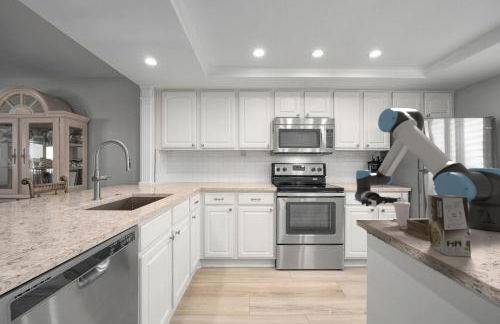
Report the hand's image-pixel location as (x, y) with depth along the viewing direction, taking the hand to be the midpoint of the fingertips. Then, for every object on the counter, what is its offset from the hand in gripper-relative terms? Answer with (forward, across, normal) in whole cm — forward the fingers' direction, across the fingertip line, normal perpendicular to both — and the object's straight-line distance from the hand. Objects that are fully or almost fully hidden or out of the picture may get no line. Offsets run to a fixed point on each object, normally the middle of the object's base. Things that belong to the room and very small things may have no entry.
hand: (390, 203), depth 117 cm
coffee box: (+44, +5, -8) cm, 45 cm away
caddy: (+25, -2, -8) cm, 26 cm away
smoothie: (+10, 0, -8) cm, 13 cm away
